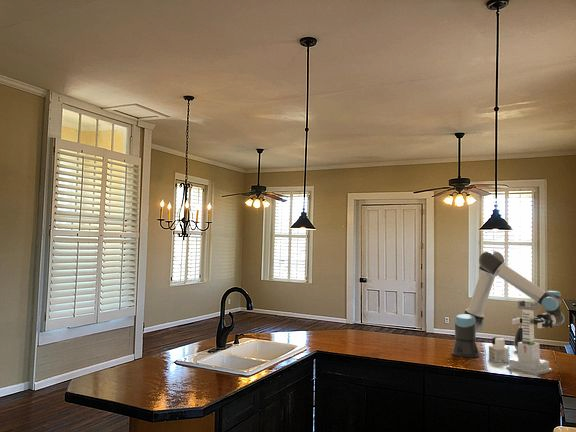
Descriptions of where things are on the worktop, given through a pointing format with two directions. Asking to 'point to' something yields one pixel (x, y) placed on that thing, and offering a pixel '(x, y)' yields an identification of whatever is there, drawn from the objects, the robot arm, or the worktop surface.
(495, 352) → the container
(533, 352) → the jack stand base
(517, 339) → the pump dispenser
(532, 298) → the robot arm
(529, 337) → the jack stand column
